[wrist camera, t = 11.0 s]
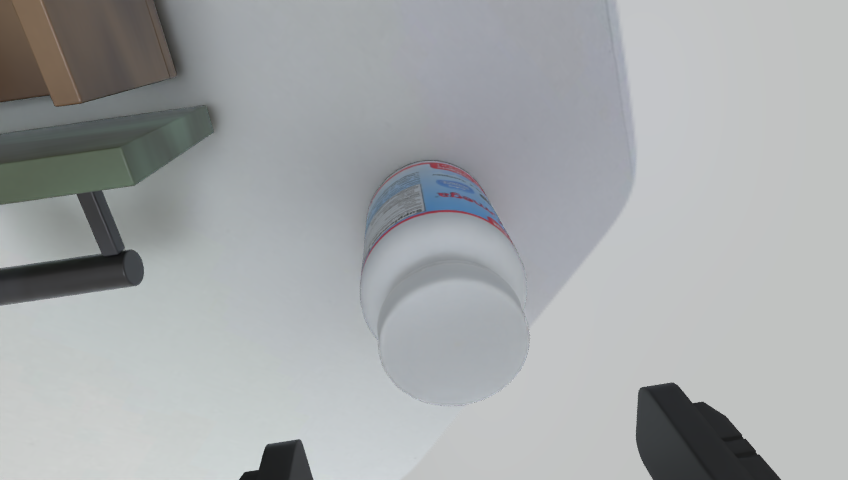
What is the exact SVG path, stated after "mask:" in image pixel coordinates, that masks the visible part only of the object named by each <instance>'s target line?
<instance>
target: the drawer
mask: <svg viewBox="0 0 848 480" xmlns="http://www.w3.org/2000/svg"><path fill="white" fill-rule="evenodd" d="M176 76H177V74H176V71H175V68H174V65H173V61H172V58H171V55H170V52H169V48H168V45H167V42H166V39H165V36H164V32H163V29H162V26H161V23H160V19H159V16H158V13H157V10H156V7H155V3H154V0H0V102H6V101H13V100H20V99H27V98H35V97H42V96H49V95H50V96H51V98H52V101H53V103H54V105H55V106H56V107H59V106H66V105H73V104H81V103H85V102H88V101H92V100H95V99H99V98H102V97H106V96H110V95H113V94H117V93H120V92H124V91H127V90H131V89H135V88H138V87H142V86H145V85H149V84H152V83H156V82H159V81H163V80H167V79H170V78H174V77H176ZM212 133H214V130H213V127H212V124H211V120H210V117H209V114H208V110H207V107H206V106H205V105H203V106H196V107H189V108H182V109H175V110H168V111H161V112H153V113H146V114H139V115H132V116H125V117H118V118H111V119H104V120H97V121H89V122H82V123H75V124H68V125H61V126H54V127H47V128H40V129H33V130H25V131H18V132H11V133H4V134H0V205H3V204H10V203H17V202H24V201H31V200H38V199H45V198H52V197H59V196H66V195H73V194H77V196H78V199H79V201H80V203H81V206H82V208H83V210H84V213H85V215H86V218H87V220H88V222H89V225H90V227H91V229H92V232H93V234H94V236H95V239H96V241H97V243H98V246H99V248H100V250H101V253H102V254H96V255H89V256H82V257H75V258H69V259H62V260H55V261H48V262H41V263H34V264H27V265H20V266H13V267H6V268H0V306H2V305H8V304H15V303H22V302H29V301H36V300H43V299H50V298H56V297H63V296H70V295H77V294H84V293H91V292H97V291H104V290H111V289H118V288H125V287H132V286H137V285H139V284H140V283H141V281H142V279H143V275H144V267H143V262H142V259H141V257H140V256H139V254H138V253H137V252H136V251H134V250H124V249H125V247H124V244H123V242H122V239H121V237H120V234H119V232H118V229H117V227H116V224H115V222H114V219H113V217H112V214H111V212H110V209H109V207H108V205H107V202H106V200H105V197H104V195H103V192H102V190H107V189H114V188H121V187H128V186H135V185H136V184H138V183H139V182H141V181H142V180H144V179H145V178H147V177H148V176H150V175H151V174H153V173H154V172H156V171H157V170H159V169H160V168H162V167H163V166H164V165H166V164H167V163H169V162H170V161H172V160H173V159H175V158H176V157H178V156H179V155H181V154H182V153H184V152H185V151H187V150H188V149H190V148H191V147H193V146H194V145H196V144H197V143H199V142H200V141H202V140H203V139H205V138H206V137H208V136H209V135H211V134H212ZM123 250H124V251H123Z"/></svg>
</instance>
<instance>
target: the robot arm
mask: <svg viewBox="0 0 848 480" xmlns="http://www.w3.org/2000/svg"><path fill="white" fill-rule="evenodd" d="M637 408H638V409H637V426H636V442H637V447H638V451H639V454H640V457H641V459H642V461H643V463H644V465H645V466H646V468H647V470H648V472H649V474H650V475H651V477H652V478H653V480H781V479H780V478H779V477H778V476H777V474H776V473H775V472H774V471H773V470H772V469H771V468H770V466H769V465H768V464H767V463H766V462H765V461H764V460H763V458H762V457H761V456H760V455H757V454H756V450H755V449H754V448H753V447H752V446H751V445H750V444H749V442H748V441H747V440H746V439H743V437H742V434H741V433H740V432H739V431H738V430H737V429H736V428H735V426H734V425H733V424H732V423H731V422H730V421H729V419H728V418H727V417H726V416H724V415H723V414H721V413H720V412H718V411H716V410H715V409H713V408H712V407H710V406H709V405H707V404H706V403H704V402H698V403H692V402H691V401H690V400H689V398H688V397H687V396H686V395H685V394H684V392H683V391H682V390H681V389H680V387H679V386H678V385H676V384H675V383H667V384H660V385H655V386H647V387H642V388H640V390H639V393H638V407H637ZM239 480H313V477H312V474H311V471H310V467H309V464H308V460H307V457H306V454H305V450H304V447H303V444H302V442H301V440H292V441H286V442H279V443H273V444H268V445H267V446H266V447H265V449H264V453H263V456H262V460H261V464H260V468H259V470H256V471H249V472H244V474H243V475H242V476H241V478H240V479H239Z"/></svg>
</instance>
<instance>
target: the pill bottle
mask: <svg viewBox="0 0 848 480" xmlns="http://www.w3.org/2000/svg"><path fill="white" fill-rule="evenodd" d="M526 298H527V279H526V274H525V269H524V266H523V263H522V261H521V258H520V256H519V254H518V252H517V250H516V248H515V247H514V245H513V243H512V241H511V239H510V237H509V236H508V234H507V232H506V230H505V228H504V227H503V225H502V223H501V221H500V220H499V218H498V216H497V214H496V213H495V211H494V209H493V207H492V206H491V204H490V202H489V200H488V198H487V197H486V195H485V193H484V191H483V190H482V188H481V187H480V185H479V184H478V183H477V182H476V180H475V179H474V178H473V177H472V176H471V175H469V174H468V173H467V172H465V171H464V170H462V169H460V168H459V167H456V166H454V165H451V164H449V163H445V162H440V161H421V162H416V163H413V164H409V165H407V166H405V167H403V168H401V169H399V170H398V171H396V172H395V173H393V174H392V175H391V176H389V177H388V178H387V179H386V180H385V181H384V182H383V183H382V185H381V186H380V187H379V188H378V190H377V191H376V193H375V195H374V196H373V198H372V201H371V203H370V206H369V210H368V214H367V222H366V231H365V242H364V253H363V263H362V272H361V282H360V301H361V307H362V311H363V315H364V318H365V321H366V323H367V325H368V327H369V329H370V330H371V332H372V334H373V335H374V336H375V338H376V339H377V340H378V346H379V355H380V359H381V362H382V366H383V368H384V370H385V372H386V373H387V375H388V376H389V378H390V379H391V380H392V382H393V383H394V384H395V385H396V386H397V387H398V388H400V389H401V390H402V391H403V392H405V393H406V394H408V395H409V396H411V397H413V398H415V399H418V400H420V401H423V402H425V403H429V404H434V405H440V406H459V405H466V404H471V403H475V402H478V401H481V400H483V399H486V398H488V397H490V396H492V395H494V394H496V393H497V392H499V391H500V390H502V389H503V388H504V387H506V386H507V385H508V384H509V383H510V382H511V381H512V380H513V379H514V378H515V376H516V375H517V374H518V372H519V371H520V370H521V368H522V366H523V364H524V362H525V360H526V357H527V354H528V350H529V340H530V334H529V328H528V323H527V320H526V317H525V315H524V313H523V311H524V308H525V304H526Z"/></svg>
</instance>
